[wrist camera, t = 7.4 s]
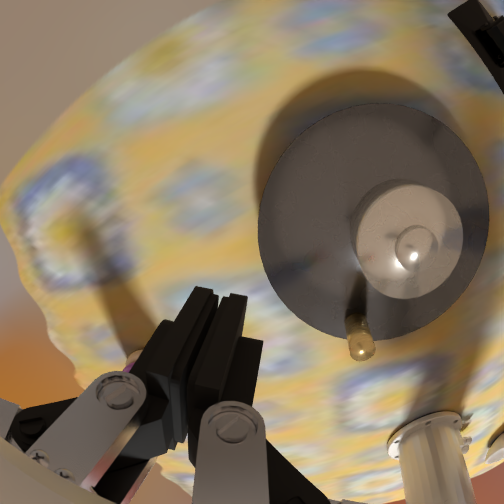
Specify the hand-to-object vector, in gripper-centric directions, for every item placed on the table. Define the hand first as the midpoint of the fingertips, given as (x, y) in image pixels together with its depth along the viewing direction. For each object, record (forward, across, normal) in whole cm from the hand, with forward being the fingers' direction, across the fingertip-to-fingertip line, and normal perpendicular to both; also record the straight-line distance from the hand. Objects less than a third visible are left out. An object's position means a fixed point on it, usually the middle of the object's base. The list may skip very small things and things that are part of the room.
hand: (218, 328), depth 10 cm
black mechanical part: (+18, -19, -21) cm, 33 cm away
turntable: (+15, -10, 0) cm, 18 cm away
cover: (+14, -11, -1) cm, 18 cm away
